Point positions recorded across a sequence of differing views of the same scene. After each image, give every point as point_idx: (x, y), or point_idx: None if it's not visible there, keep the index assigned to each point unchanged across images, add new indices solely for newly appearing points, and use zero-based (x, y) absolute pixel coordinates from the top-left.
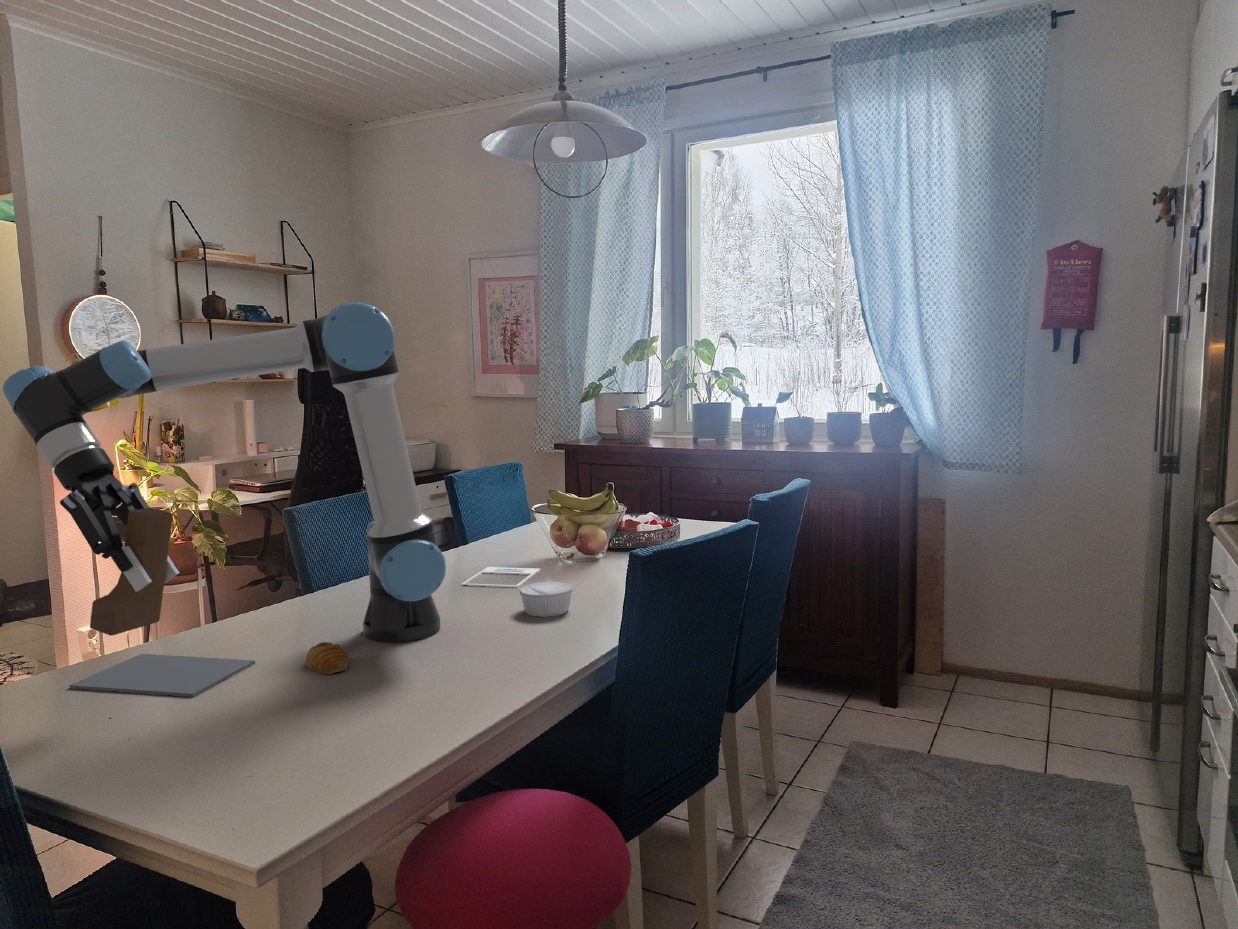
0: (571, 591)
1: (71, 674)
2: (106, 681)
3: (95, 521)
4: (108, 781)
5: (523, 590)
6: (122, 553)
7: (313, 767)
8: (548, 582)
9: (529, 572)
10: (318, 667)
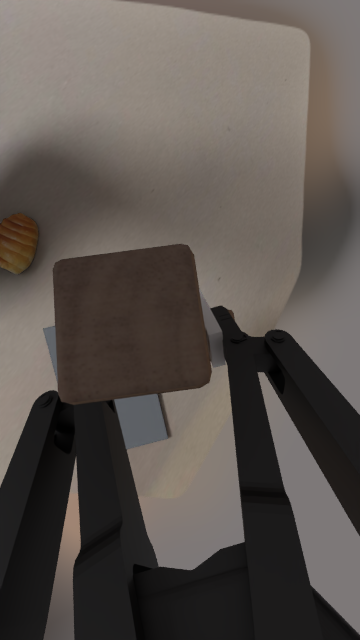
0: None
1: (142, 474)
2: (147, 415)
3: (331, 410)
4: (273, 224)
5: None
6: (226, 330)
7: (199, 91)
8: None
9: None
10: (34, 239)
